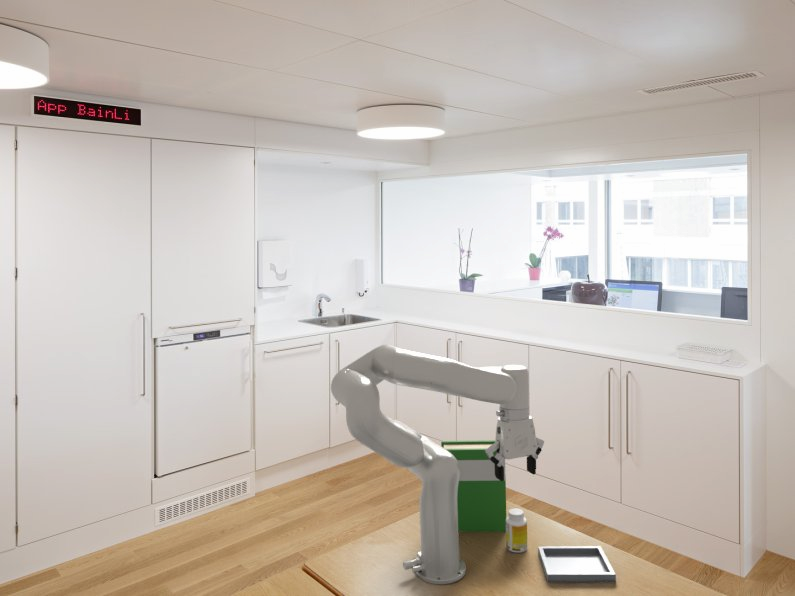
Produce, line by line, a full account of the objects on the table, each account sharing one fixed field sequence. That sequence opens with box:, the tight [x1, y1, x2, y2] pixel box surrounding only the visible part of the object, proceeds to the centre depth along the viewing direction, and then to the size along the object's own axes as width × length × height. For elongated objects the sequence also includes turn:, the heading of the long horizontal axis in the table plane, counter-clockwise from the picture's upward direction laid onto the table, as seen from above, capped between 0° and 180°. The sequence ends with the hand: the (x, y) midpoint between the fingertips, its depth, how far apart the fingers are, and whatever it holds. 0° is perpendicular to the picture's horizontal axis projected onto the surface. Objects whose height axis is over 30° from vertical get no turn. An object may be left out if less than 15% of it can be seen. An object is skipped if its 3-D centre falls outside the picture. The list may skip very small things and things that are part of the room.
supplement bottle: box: [505, 507, 528, 554], centre depth 157 cm, size 6×6×10 cm
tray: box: [537, 545, 617, 583], centre depth 148 cm, size 16×13×2 cm
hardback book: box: [440, 439, 507, 533], centre depth 170 cm, size 18×7×24 cm, turn 86°
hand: (515, 475), depth 156 cm, fingers open, 9 cm apart
